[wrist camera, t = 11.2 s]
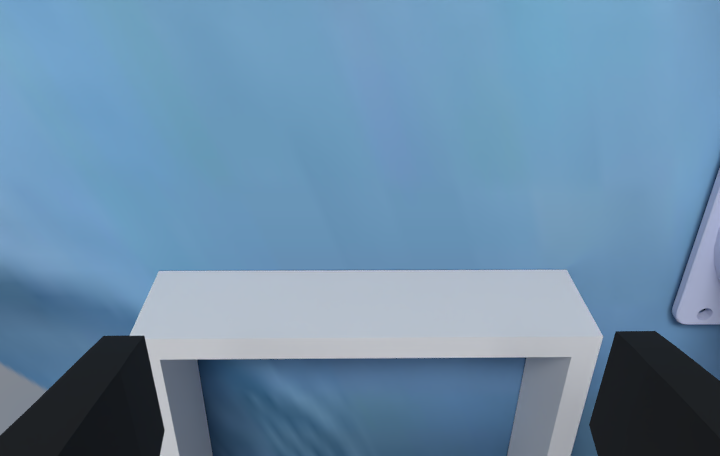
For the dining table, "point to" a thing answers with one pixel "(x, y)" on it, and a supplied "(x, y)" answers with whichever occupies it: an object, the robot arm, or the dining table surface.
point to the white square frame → (374, 335)
